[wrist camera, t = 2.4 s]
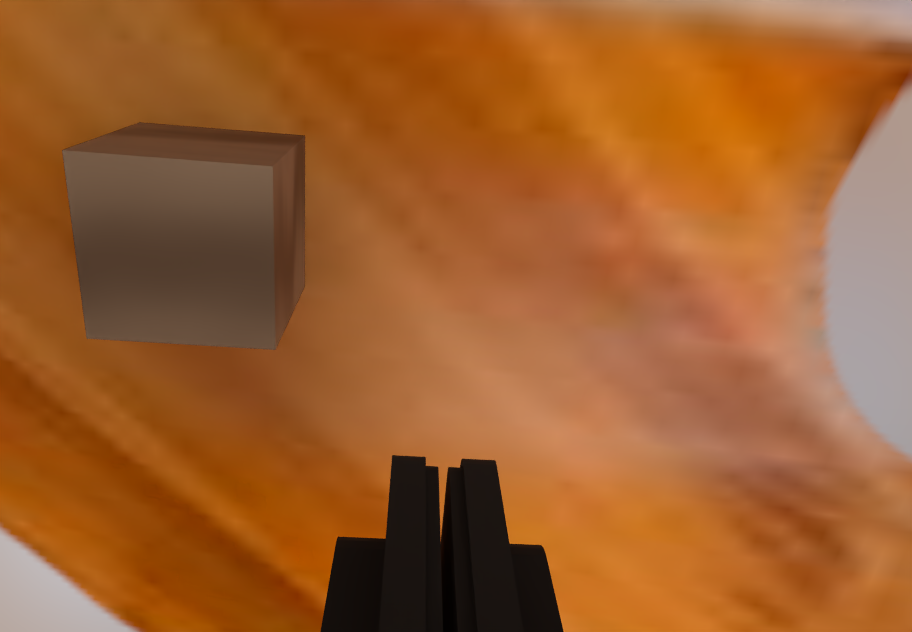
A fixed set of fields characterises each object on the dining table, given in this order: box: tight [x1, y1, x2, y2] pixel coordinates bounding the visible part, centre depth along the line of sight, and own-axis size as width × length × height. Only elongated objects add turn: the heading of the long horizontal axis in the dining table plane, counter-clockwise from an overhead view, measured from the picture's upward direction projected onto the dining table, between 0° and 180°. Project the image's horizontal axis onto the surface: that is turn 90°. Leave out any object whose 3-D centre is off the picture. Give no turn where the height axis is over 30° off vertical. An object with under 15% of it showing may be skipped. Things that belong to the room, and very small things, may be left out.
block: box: [62, 122, 305, 350], centre depth 24 cm, size 6×6×6 cm
